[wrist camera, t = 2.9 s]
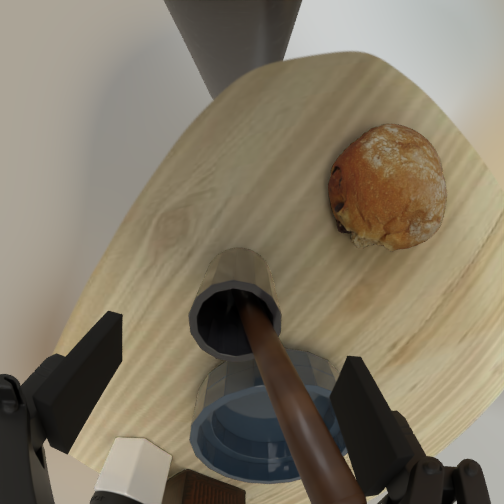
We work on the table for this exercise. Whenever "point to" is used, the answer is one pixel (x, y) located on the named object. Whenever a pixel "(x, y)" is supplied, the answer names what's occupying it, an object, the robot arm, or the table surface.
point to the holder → (231, 303)
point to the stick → (297, 412)
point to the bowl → (255, 419)
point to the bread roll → (388, 189)
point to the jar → (132, 473)
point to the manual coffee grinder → (200, 490)
